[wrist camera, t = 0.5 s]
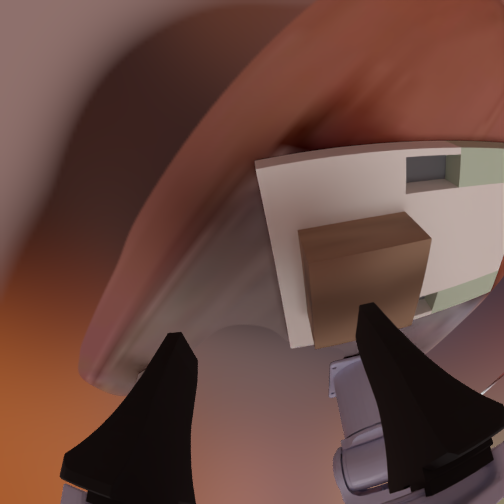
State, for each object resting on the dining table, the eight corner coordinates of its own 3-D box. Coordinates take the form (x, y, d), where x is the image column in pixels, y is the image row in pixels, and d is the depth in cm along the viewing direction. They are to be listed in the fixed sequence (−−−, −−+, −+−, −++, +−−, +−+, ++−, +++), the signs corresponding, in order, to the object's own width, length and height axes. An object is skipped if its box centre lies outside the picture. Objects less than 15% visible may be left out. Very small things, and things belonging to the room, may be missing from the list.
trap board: (481, 280, 22) (490, 291, 21) (288, 332, 25) (290, 348, 23) (508, 143, 14) (523, 149, 12) (254, 160, 16) (255, 169, 14)
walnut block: (394, 294, 20) (411, 324, 17) (307, 313, 21) (315, 349, 18) (404, 211, 16) (431, 238, 13) (297, 230, 16) (308, 263, 14)
